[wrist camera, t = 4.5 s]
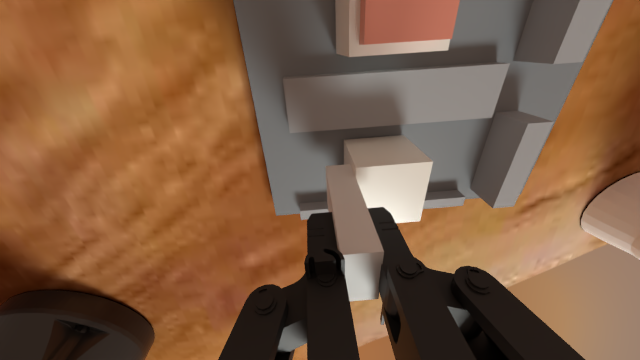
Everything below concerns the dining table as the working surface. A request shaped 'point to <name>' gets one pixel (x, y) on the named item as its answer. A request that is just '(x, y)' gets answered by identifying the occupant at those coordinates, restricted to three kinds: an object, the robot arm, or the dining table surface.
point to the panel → (414, 95)
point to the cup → (616, 215)
